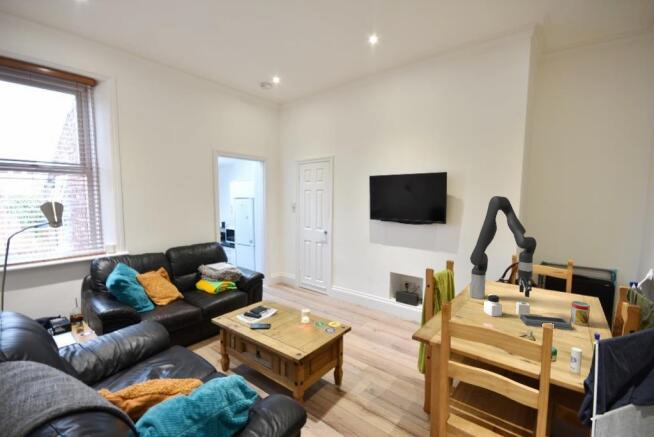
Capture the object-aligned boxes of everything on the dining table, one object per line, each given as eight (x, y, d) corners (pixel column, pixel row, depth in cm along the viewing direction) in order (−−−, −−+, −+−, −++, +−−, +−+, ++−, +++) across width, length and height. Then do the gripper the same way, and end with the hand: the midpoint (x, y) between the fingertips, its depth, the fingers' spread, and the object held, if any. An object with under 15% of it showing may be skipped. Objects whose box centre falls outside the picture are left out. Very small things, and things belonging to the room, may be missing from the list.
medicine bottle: (501, 315, 179) (502, 297, 178) (491, 316, 178) (492, 297, 177) (493, 311, 186) (494, 293, 185) (483, 312, 185) (484, 293, 184)
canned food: (591, 327, 164) (593, 306, 163) (576, 325, 166) (577, 305, 165) (582, 320, 172) (583, 301, 171) (567, 319, 173) (568, 300, 172)
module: (518, 315, 180) (519, 302, 180) (515, 312, 184) (516, 300, 184) (529, 316, 179) (530, 303, 178) (526, 313, 183) (527, 301, 182)
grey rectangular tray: (526, 325, 166) (526, 320, 166) (519, 318, 176) (519, 313, 176) (571, 330, 161) (571, 325, 160) (562, 322, 170) (562, 317, 170)
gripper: (514, 265, 187) (513, 290, 188) (523, 271, 173) (521, 298, 174) (527, 266, 185) (526, 291, 186) (537, 272, 171) (536, 299, 173)
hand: (524, 294), depth 180 cm, fingers open, 8 cm apart
